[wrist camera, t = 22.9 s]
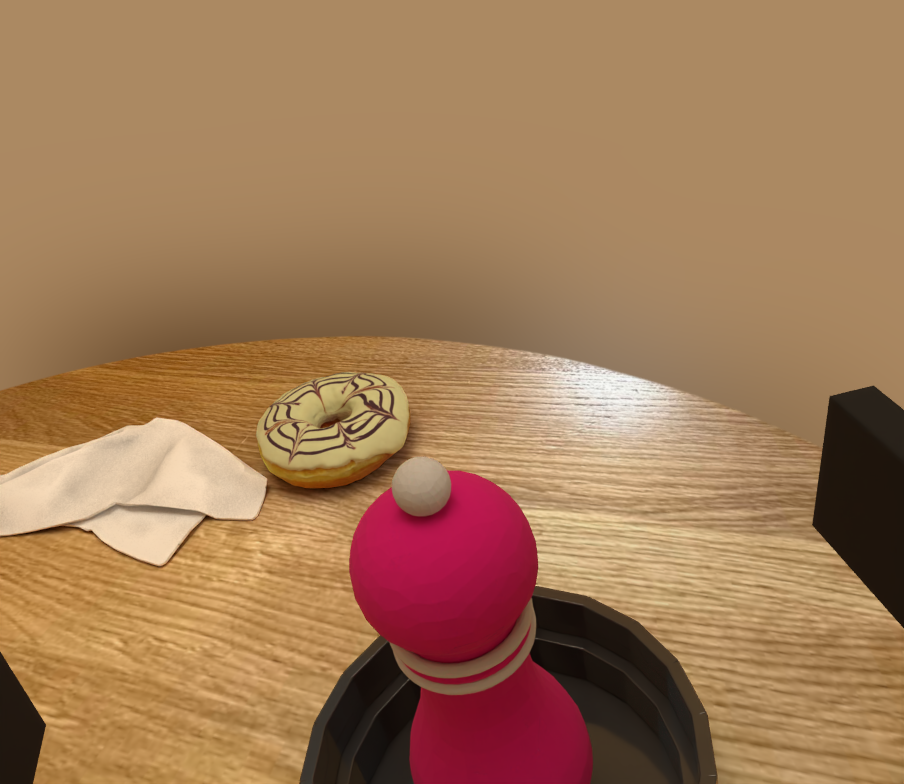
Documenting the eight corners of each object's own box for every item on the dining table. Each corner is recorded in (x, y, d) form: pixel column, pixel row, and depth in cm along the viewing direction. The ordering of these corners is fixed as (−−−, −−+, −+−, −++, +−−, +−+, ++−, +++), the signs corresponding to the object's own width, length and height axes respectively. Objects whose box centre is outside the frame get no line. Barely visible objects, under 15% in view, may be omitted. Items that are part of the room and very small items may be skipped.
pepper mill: (498, 943, 32) (367, 605, 21) (404, 799, 38) (257, 466, 26) (638, 823, 35) (591, 462, 23) (531, 704, 40) (449, 362, 29)
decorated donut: (437, 460, 57) (426, 416, 55) (286, 523, 55) (267, 480, 52) (390, 384, 65) (378, 343, 63) (256, 436, 63) (239, 396, 61)
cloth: (313, 438, 61) (304, 413, 60) (210, 583, 52) (196, 558, 50) (51, 412, 72) (38, 391, 70) (-78, 530, 62) (-96, 508, 60)
